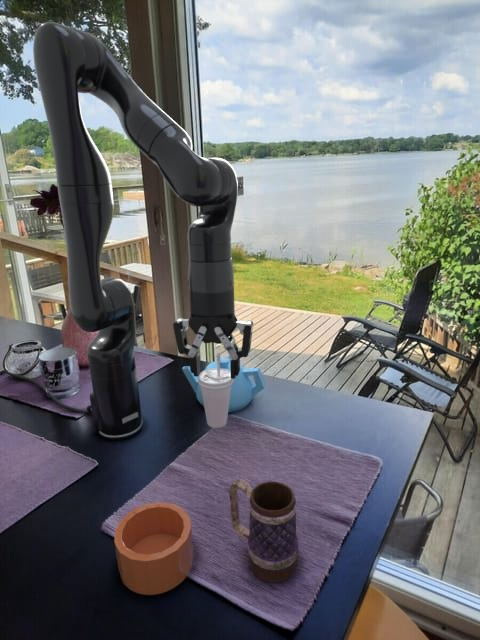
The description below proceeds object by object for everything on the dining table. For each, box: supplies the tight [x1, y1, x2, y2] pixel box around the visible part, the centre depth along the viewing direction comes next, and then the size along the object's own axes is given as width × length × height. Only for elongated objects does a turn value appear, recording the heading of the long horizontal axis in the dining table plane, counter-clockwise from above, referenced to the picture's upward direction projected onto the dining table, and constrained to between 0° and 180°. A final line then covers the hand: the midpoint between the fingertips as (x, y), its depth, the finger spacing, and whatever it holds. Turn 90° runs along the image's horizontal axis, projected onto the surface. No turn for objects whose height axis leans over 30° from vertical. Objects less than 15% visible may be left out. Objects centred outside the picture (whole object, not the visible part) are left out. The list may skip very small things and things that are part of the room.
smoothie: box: [198, 352, 234, 429], centre depth 80 cm, size 6×6×14 cm
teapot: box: [181, 355, 266, 413], centre depth 105 cm, size 15×15×11 cm
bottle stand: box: [113, 501, 194, 596], centre depth 62 cm, size 10×10×6 cm
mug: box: [228, 478, 299, 583], centre depth 61 cm, size 10×7×12 cm
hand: (215, 375), depth 79 cm, fingers closed on smoothie, 6 cm apart
